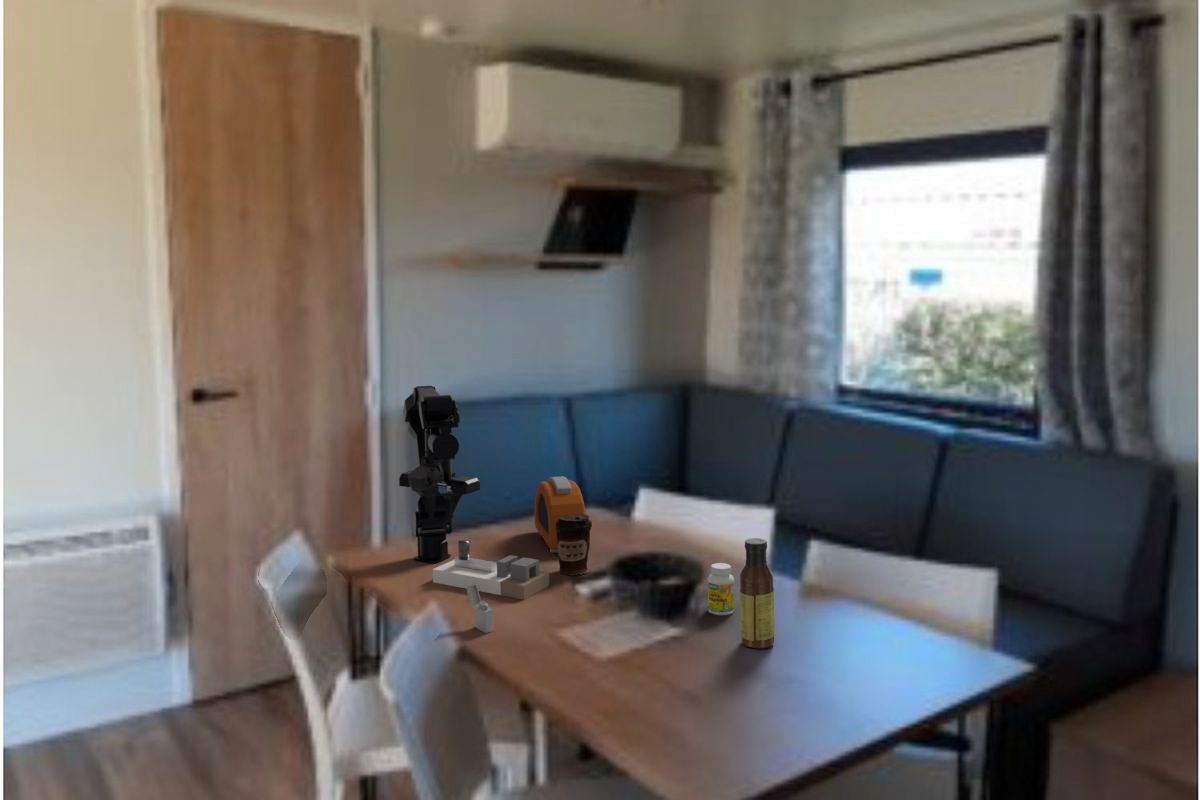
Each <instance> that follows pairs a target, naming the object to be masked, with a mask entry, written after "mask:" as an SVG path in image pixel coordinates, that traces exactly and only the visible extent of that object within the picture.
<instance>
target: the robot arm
mask: <svg viewBox="0 0 1200 800" xmlns="http://www.w3.org/2000/svg"><path fill="white" fill-rule="evenodd" d="M403 404H404V405H403V410H402V411H403V422H404V423H406V428H407V432H408V433H409V434H410V435H411V436H412V438H413V440H414V442H415V451H416V460H417V467H416V468H414V469H411V470H409V471H406V472H402V473H401V474H400V476H399V478H398V486H400V487H404V488H411V491H413V492H415V493H416V494H418V495H419V498H418V501H417V503H416V506H415V511H413V518H412V523H411V525H412V526H411V527H412V534H413V535H414V537H415V538H417V555H415V556H414V557H413V560H414V561H415V560H416V561H419V562H420V561H421V562H426V563H432V564H436V563H439V562H441V561H443V560H445V559H446V560H447V559H448V558H450V557H451V556H452V554H451V553H449V547H448V545H449V544H448V542H449V541H448V539H447V535H451V533H452V532H453V521H454V512H455V510H456V508H457V505H458V503H459V502H460V500H461V498H462V496H463V495H469V494H472V493H474V492H477V491H480V490H481V481H480V479H478V477H474V476H467V475H463V476H461V477H457V478H455V477H456V471H453V467H452V466H453V464H452V463H453V462H452V460H455V459H456V455H457V454H458V451H459V448H460V444H459V443H460V442H459V441H458V439H457V437H456V436H455V435H453V433H452V428H453V429H454V428H458V427H459V424H460V421H461V419H460V418H461V417H460V413H459V409H458V405H457V404H456V400H455V399H453V396H451V394H442V395H441V394H440V393H439V392H438V391H437V390H436V387H435V386H433V385H422V386H421V385H420V386H419V385H418V386H417V385H416V387H413V390H412V393H411V394H409V396H407V397H406V398H405V400H404V403H403ZM439 487H445V488H447V489H446V491H444V492H442V493H441V491H440V489H439Z"/></svg>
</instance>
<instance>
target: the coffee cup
mask: <svg viewBox="0 0 1200 800" xmlns="http://www.w3.org/2000/svg"><path fill="white" fill-rule="evenodd" d="M555 526H556V533H557V546H558V552H557V554H558V558H557V559H558V563H559V564H558V565H559V572H560V573H561V574H563V575H566V576H567V575H568V576H569V575H570V576H577V575H578V574H580V575H584V574H587V573H588V570H589V569H588V560H589V559H588V557H589V551H590V545H591V543H590V539H591V529H592V527H593V521H592V520H591V519H590V516H589V515H588V514H586V515H584V514H567V515H564V516H560V517H559V520H558V521H557V522H556V525H555ZM586 572H587V573H586ZM583 573H584V574H583ZM578 576H579V575H578Z"/></svg>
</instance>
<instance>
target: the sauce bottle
mask: <svg viewBox="0 0 1200 800" xmlns="http://www.w3.org/2000/svg"><path fill="white" fill-rule="evenodd" d="M744 549H745V565H744V567H743V568H742V570H741V571H740V575H739V579H740V580H739V583H740V584H739V587H740V588H739V603H740V604H739V607H740V608H739V610H740V636H741V642H742V644H743V645H744V646H745V647H748V648H752V649H755V650H756V649H759V650H760V649H762V650H763V649H768V648H771V647H772V646H773V645H774V642H775V633H776V632H775V592H774V591H775V588H774V578H773V575H772V573H771V571H770V569H769V566H768V564H767V562H768V561H767V549H768V542H767V540H766V539H763V538H758V537H753V538H747V539H745V540H744Z"/></svg>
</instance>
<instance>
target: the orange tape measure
mask: <svg viewBox="0 0 1200 800" xmlns="http://www.w3.org/2000/svg"><path fill="white" fill-rule="evenodd" d="M567 514H584V515H587V514H586V507H585V502H584V498H583V494H582V492H581V489H580V487H579V485H577V483H576V482H575V481H573V480H571V479H568V478H567V477H566V476H562V475H561V476H550V477H548V478H547V480H546V481H540V482H539V483H538V486H537V487H536V491H535V496H534V526H535V529H536V530H537V532H538V535H539V536H540V537H542V539H543V540H544V542H545V544H546V545H547V547H548V548H549V552H550V553H558V546H557V533H556V526H555V525H556V522H557V521H558V520H559V517H560V516H564V515H567Z"/></svg>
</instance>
